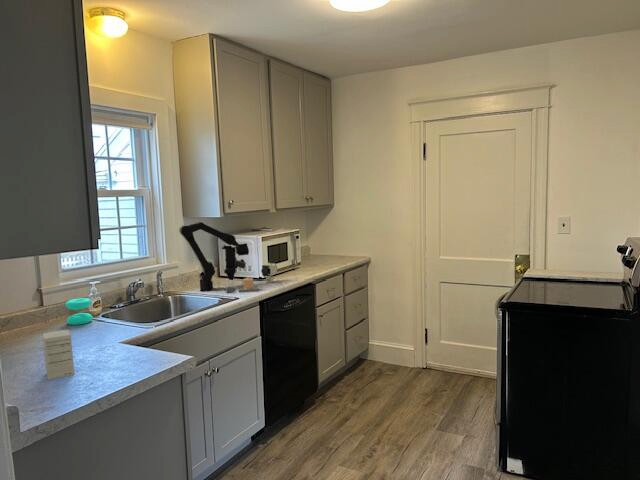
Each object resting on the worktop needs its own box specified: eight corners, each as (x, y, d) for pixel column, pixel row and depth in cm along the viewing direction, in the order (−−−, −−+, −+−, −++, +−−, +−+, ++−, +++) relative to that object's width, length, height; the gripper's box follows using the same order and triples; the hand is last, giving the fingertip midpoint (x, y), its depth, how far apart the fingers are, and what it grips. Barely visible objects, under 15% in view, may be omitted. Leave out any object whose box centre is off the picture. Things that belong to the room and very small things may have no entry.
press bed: (238, 292, 258) (238, 290, 258) (239, 289, 266) (239, 287, 266) (257, 291, 259) (257, 289, 259) (257, 288, 267) (257, 286, 267)
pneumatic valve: (261, 284, 280) (260, 263, 279) (271, 280, 291) (270, 261, 290) (269, 284, 278) (268, 264, 277) (279, 280, 289) (278, 261, 288)
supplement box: (46, 373, 146) (42, 333, 145) (73, 367, 150) (69, 328, 149) (46, 380, 140) (42, 338, 139) (74, 375, 144) (71, 334, 142)
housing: (243, 289, 260) (243, 278, 259) (244, 287, 265) (243, 277, 264) (252, 288, 260) (252, 278, 260) (253, 287, 265) (252, 276, 265)
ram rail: (226, 293, 258) (226, 287, 257) (229, 288, 271) (228, 283, 271) (232, 292, 258) (232, 287, 258) (234, 287, 272) (234, 282, 271)
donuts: (69, 303, 199) (62, 300, 206) (71, 327, 200) (64, 323, 207) (94, 299, 206) (86, 296, 213) (96, 322, 207) (88, 318, 214)
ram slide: (228, 287, 268) (227, 281, 267) (228, 286, 271) (228, 280, 271) (234, 286, 268) (233, 280, 268) (234, 285, 271) (234, 279, 271)
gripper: (243, 257, 264) (245, 285, 266) (245, 253, 283) (246, 279, 284) (223, 258, 263) (225, 286, 265) (226, 254, 282) (228, 280, 283)
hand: (232, 283), depth 274 cm, fingers closed
